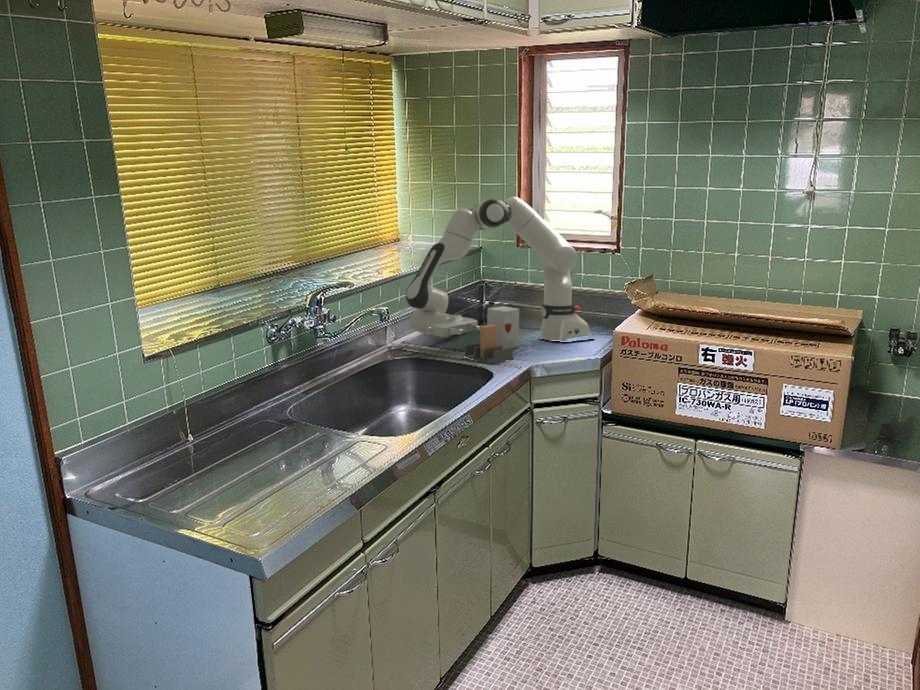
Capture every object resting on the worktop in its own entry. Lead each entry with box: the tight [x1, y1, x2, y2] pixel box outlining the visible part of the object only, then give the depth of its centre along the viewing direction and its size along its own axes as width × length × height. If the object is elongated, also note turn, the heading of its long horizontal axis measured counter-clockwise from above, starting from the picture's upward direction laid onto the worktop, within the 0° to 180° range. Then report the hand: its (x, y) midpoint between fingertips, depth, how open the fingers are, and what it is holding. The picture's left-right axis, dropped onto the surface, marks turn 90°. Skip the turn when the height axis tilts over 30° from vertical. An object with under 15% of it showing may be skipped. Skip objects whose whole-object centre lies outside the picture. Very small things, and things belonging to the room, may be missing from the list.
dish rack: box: [463, 342, 514, 366], centre depth 264 cm, size 11×14×4 cm
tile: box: [479, 324, 497, 358], centre depth 263 cm, size 6×2×11 cm, turn 137°
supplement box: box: [486, 306, 520, 349], centre depth 283 cm, size 9×9×15 cm
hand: (470, 330), depth 268 cm, fingers open, 8 cm apart
